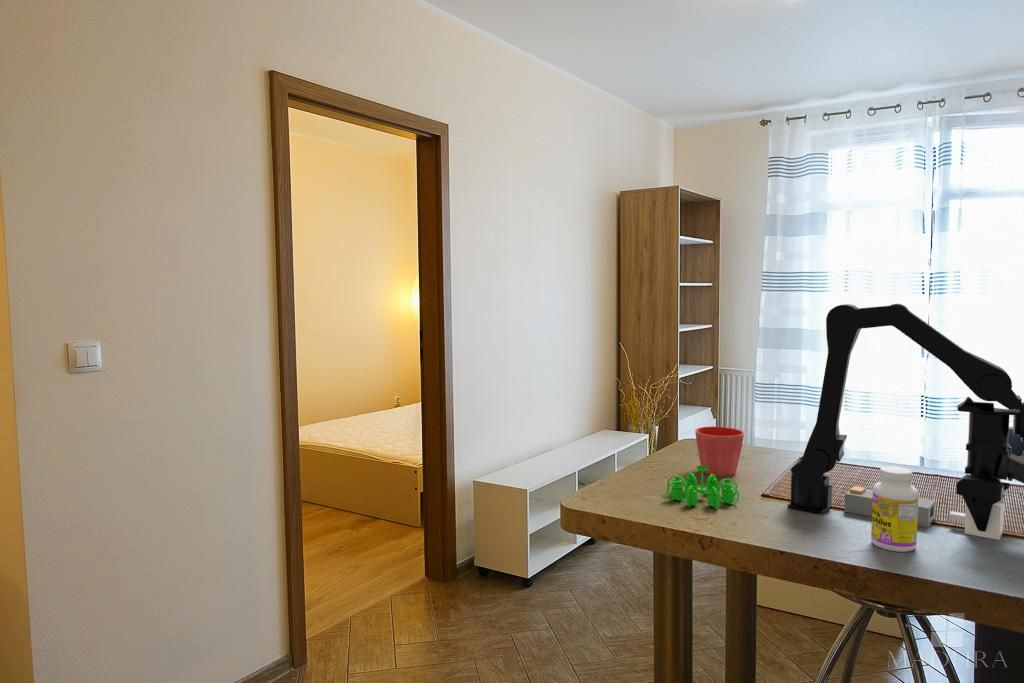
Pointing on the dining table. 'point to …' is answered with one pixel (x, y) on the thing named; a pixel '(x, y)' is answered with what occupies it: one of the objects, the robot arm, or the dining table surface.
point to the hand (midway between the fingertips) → (984, 527)
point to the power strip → (862, 500)
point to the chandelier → (702, 489)
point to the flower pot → (719, 449)
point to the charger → (994, 523)
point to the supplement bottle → (895, 510)
